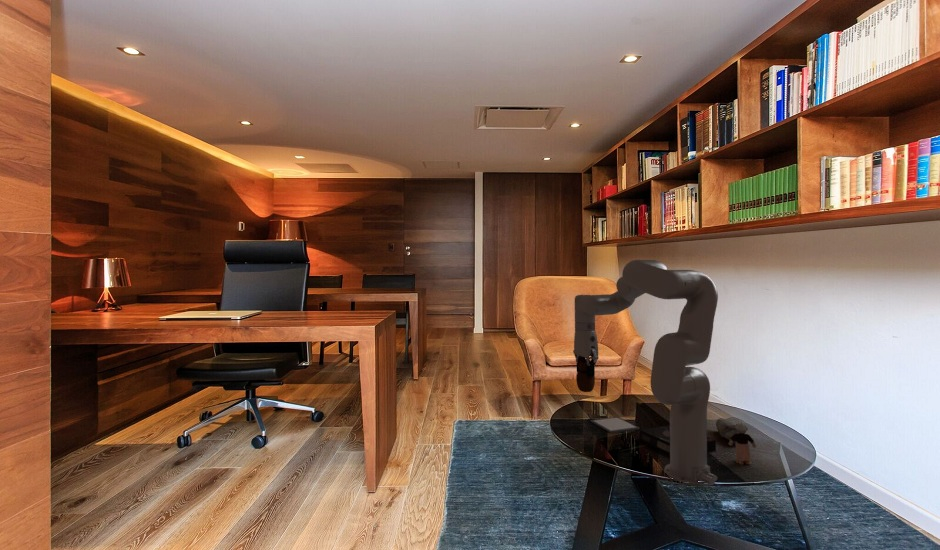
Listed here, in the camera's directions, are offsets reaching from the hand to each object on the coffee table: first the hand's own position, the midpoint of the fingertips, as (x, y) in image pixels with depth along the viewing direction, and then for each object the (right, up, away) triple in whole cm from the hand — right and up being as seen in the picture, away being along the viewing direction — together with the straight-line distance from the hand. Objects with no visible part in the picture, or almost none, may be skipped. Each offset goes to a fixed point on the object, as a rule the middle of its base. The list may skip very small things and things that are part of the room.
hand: (585, 373), depth 158 cm
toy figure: (+41, -21, -29) cm, 54 cm away
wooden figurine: (0, -7, 0) cm, 7 cm away
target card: (+12, -21, +4) cm, 25 cm away
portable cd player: (+27, -22, -16) cm, 38 cm away
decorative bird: (+48, -21, -11) cm, 54 cm away
